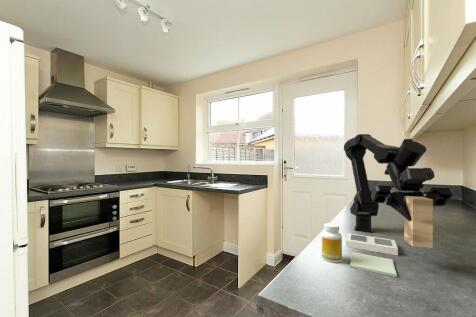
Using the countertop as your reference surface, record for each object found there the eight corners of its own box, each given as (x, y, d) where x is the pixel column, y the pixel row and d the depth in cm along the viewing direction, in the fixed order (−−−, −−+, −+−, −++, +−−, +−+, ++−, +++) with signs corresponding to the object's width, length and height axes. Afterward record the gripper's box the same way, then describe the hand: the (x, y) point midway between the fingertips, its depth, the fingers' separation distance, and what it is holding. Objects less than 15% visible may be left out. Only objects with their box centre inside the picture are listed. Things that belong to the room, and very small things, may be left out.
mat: (352, 254, 68) (352, 252, 68) (392, 261, 63) (392, 259, 63) (350, 267, 59) (350, 264, 59) (396, 277, 54) (396, 274, 54)
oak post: (404, 240, 63) (404, 196, 63) (423, 241, 62) (422, 196, 62) (412, 246, 59) (412, 198, 59) (432, 247, 58) (432, 199, 58)
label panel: (347, 238, 82) (347, 232, 82) (394, 246, 75) (394, 239, 75) (346, 246, 74) (346, 239, 74) (397, 255, 67) (397, 248, 67)
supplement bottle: (344, 264, 61) (344, 228, 61) (323, 262, 62) (323, 226, 62) (339, 256, 66) (339, 223, 66) (320, 254, 67) (320, 221, 67)
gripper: (374, 157, 67) (390, 200, 56) (448, 158, 62) (481, 205, 52) (366, 182, 74) (378, 224, 64) (431, 184, 70) (457, 229, 59)
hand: (420, 220), depth 59 cm, fingers closed on oak post, 4 cm apart
